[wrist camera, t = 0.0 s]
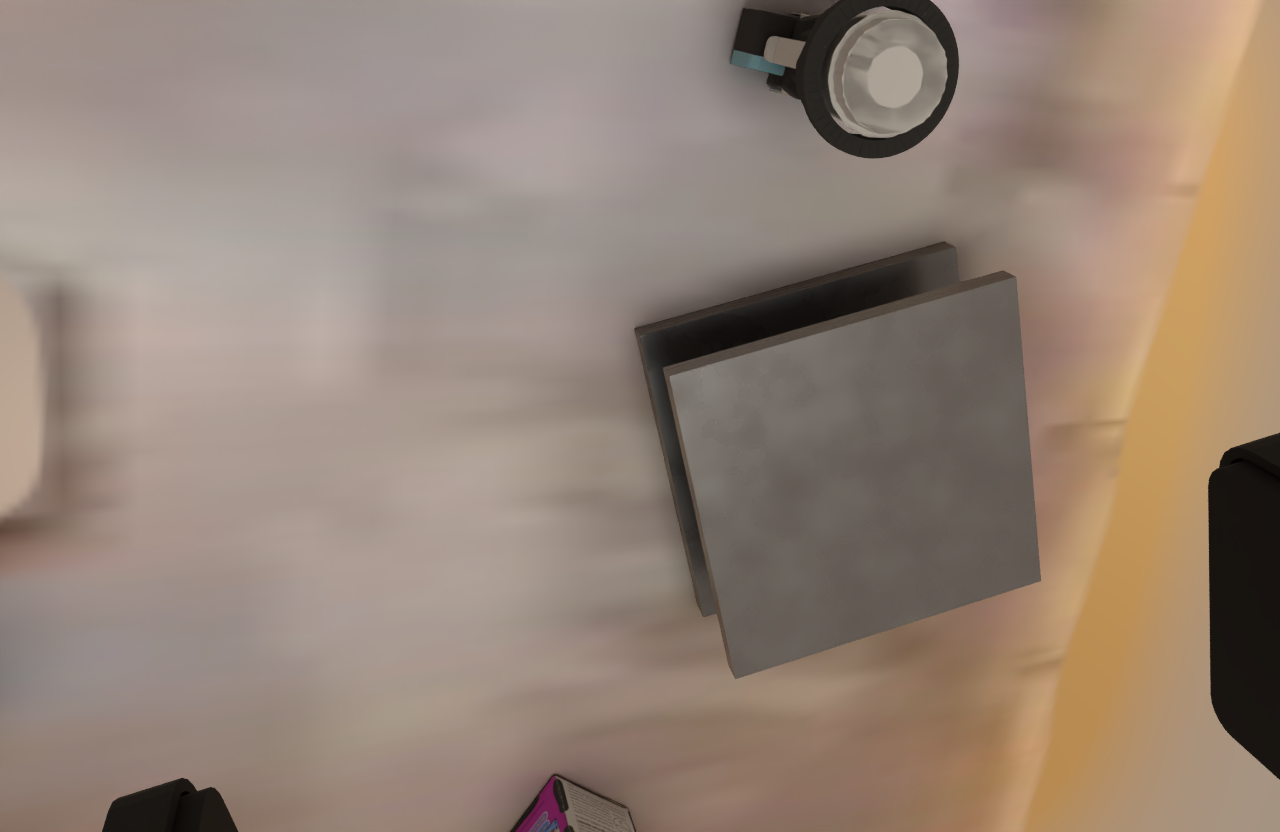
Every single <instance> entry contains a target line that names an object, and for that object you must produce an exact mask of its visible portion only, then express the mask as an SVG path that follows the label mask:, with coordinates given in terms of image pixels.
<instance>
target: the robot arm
mask: <svg viewBox="0 0 1280 832" xmlns="http://www.w3.org/2000/svg"><path fill="white" fill-rule="evenodd" d="M1208 503H1209V504H1208V505H1209V507H1208V508H1209V584H1210V585H1209V587H1210V589H1209V592H1210V676H1211V699H1212V705H1213V708H1214V711H1215V713H1216V715H1217V717H1218V719H1219V721H1220V723H1221V724H1222V725H1223V727H1224V729H1225V730H1226V731H1227V732H1228V733H1229V734H1230V735H1231V736H1232V737H1233V738H1234V739H1235V740H1236V741H1237V742H1238V743H1239V744H1241V745H1242V746H1243V747H1244V748H1245V749H1246V750H1247V751H1248V752H1250V753H1251V754H1252V755H1253V756H1254V757H1255V758H1256V759H1258V761H1260V762H1261V763H1262V764H1263V765H1264V766H1265V767H1266V768H1267V769H1268V770H1269V771H1271V772H1272V773H1273V774H1274V775H1275V776H1276V777H1277V778H1279V779H1280V433H1278V434H1274V435H1271V436H1268V437H1265V438H1262V439H1258V440H1255V441H1252V442H1249V443H1246V444H1243V445H1240V446H1236V447H1233V448H1231V449H1229V450H1228V451H1226V452H1225V453H1224V455H1223V457H1222V459H1221V461H1220V466H1219V468H1218V469H1216V470H1215V471H1213V472H1212V474H1211V476H1210V478H1209V485H1208ZM102 832H238V830H237V828H236V826H235V824H234V822H233V820H232V817H231V815H230V813H229V811H228V809H227V807H226V805H225V803H224V800H223V799H222V797H221V795H220V793H219V792H218V791H217V790H216V789H215V788H212V787H209V788H206V789H203V790H200V791H197V790H196V789H195V787H194V785H193V784H192V783H191V782H190V781H189V780H188V779H184V778H180V779H177V780H174V781H171V782H168V783H164V784H161V785H158V786H155V787H152V788H149V789H145V790H142V791H139V792H136V793H133V794H129V795H126V796H123V797H120V798H118V799H116V800H115V801H113V802H112V804H111V806H110V808H109V811H108V814H107V817H106V820H105V824H104V827H103V830H102Z"/></svg>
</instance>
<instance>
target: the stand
mask: <svg viewBox="0 0 1280 832" xmlns="http://www.w3.org/2000/svg"><path fill="white" fill-rule="evenodd" d="M635 333H636V337H637V341H638V346H639V350H640V355H641V359H642V363H643V368H644V372H645V377H646V381H647V385H648V390H649V394H650V398H651V403H652V407H653V412H654V416H655V420H656V425H657V429H658V433H659V438H660V442H661V447H662V451H663V455H664V460H665V464H666V469H667V473H668V477H669V482H670V486H671V490H672V495H673V499H674V504H675V508H676V512H677V517H678V521H679V526H680V530H681V534H682V539H683V543H684V547H685V552H686V556H687V561H688V565H689V569H690V574H691V578H692V582H693V587H694V591H695V596H696V600H697V604H698V607H699V609H700V611H701V613H702V615H703V617H706V616H709V615H712V614H715V613H717V615H718V620H719V624H720V629H721V633H722V638H723V642H724V647H725V651H726V656H727V661H728V665H729V667H730V669H731V671H732V673H733V675H734V677H735V679H737V678H741V677H744V676H747V675H750V674H753V673H756V672H759V671H762V670H765V669H768V668H772V667H775V666H778V665H781V664H784V663H787V662H790V661H793V660H796V659H800V658H803V657H806V656H809V655H812V654H815V653H818V652H821V651H824V650H828V649H831V648H834V647H837V646H840V645H843V644H846V643H849V642H852V641H856V640H859V639H862V638H865V637H868V636H871V635H874V634H877V633H880V632H884V631H887V630H890V629H893V628H896V627H899V626H902V625H905V624H908V623H912V622H915V621H918V620H921V619H924V618H927V617H930V616H933V615H936V614H939V613H943V612H946V611H949V610H952V609H955V608H958V607H961V606H964V605H967V604H971V603H974V602H977V601H980V600H983V599H986V598H989V597H992V596H995V595H999V594H1002V593H1005V592H1008V591H1011V590H1014V589H1017V588H1020V587H1023V586H1027V585H1030V584H1033V583H1036V582H1039V581H1041V575H1040V563H1039V550H1038V538H1037V526H1036V514H1035V501H1034V489H1033V477H1032V465H1031V452H1030V440H1029V428H1028V416H1027V403H1026V391H1025V379H1024V367H1023V354H1022V342H1021V330H1020V318H1019V305H1018V293H1017V281H1016V276H1014V275H1011V274H1009V273H1007V272H1005V271H999V272H996V273H992V274H989V275H985V276H982V277H978V278H975V279H971V280H968V281H964V282H961V283H959V276H958V266H957V257H956V247H954V246H952V245H950V244H948V243H946V242H942V243H939V244H935V245H932V246H928V247H925V248H921V249H917V250H914V251H910V252H907V253H903V254H900V255H896V256H892V257H889V258H885V259H882V260H878V261H875V262H871V263H868V264H864V265H860V266H857V267H853V268H850V269H846V270H843V271H839V272H835V273H832V274H828V275H825V276H821V277H818V278H814V279H811V280H807V281H803V282H800V283H796V284H793V285H789V286H786V287H782V288H778V289H775V290H771V291H768V292H764V293H761V294H757V295H753V296H750V297H746V298H743V299H739V300H736V301H732V302H729V303H725V304H721V305H718V306H714V307H711V308H707V309H704V310H700V311H696V312H693V313H689V314H686V315H682V316H679V317H675V318H672V319H668V320H664V321H661V322H657V323H654V324H650V325H647V326H643V327H639V328H636V329H635Z"/></svg>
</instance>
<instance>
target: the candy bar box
mask: <svg viewBox="0 0 1280 832" xmlns="http://www.w3.org/2000/svg"><path fill="white" fill-rule="evenodd" d="M512 832H636V830H635V827H634V824H633V821H632V818H631V815H630V812H629V810H628V809H627V808H625V807H624V806H622V805H620V804H618V803H616V802H614V801H612V800H610V799H607V798H604V797H601V796H599V795H596V794H594V793H592V792H589V791H587V790H585V789H584V788H582V787H580V786H577V785H575V784H573V783H571V782H569V781H567V780H564V779H562V778H560V777H558V776H554V777H552V778H551V780H550V781H549V782H548V783H547V785H546V786H545V787H544V789H543V790H542V791H541V793H540V794H539V795H538V797H537V798H536V799H535V801H534V802H533V804H532V805H531V806H530V808H529V809H528V810H527V812H526V813H525V814H524V816H523V817H522V819H521V820H520V821H519V823H518V824H517V825H516V827H515V828H514V829H513V831H512Z"/></svg>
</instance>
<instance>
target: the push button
mask: <svg viewBox="0 0 1280 832" xmlns="http://www.w3.org/2000/svg"><path fill="white" fill-rule="evenodd" d="M881 6H884V7H886V8H889V9H891V10H890V11H884V12H878V13H873V14H871V15H862V16H856V15H858V14H860V13H862V12H864V11H866V10H869V9H872V8H875V7H881ZM790 14H792V15H796V16H800V19H794V18H790V17H786V16H782V15H778V14H774V13H770V12H766V11H761V10H754V9H746V8H744V9H743V13H742V17H741V21H740V26H739V30H738V34H737V38H736V42H735V46H734V51H733V55H732V60H731V64H733V65H737V66H741V67H746V68H751V69H755V70H759V71H763V72H768V73H769V76H768V80H767V84H768V85H772V86H776V87H780V88H782V90H776V89H772V88H771V89H770V90H771V91H774V92H777V93H780V94H784V95H789V96H792V97H794V98H796V99H799V100H801V102H802V103H803V105H804V108H805V111H806V113H807V115H808V118H809V120H810V122H811V123H812V125H813V126H814V128H815V129H816V131H817V132H818V133H819V134H820V135H821V136H822V137H823V138H824V139H825V140H826V141H827V142H828V143H830V144H831V145H832V146H834V147H836V148H837V149H839V150H841V151H843V152H846V153H848V154H851V155H854V156H857V157H863V158H884V157H890V156H893V155H897V154H899V153H902V152H904V151H906V150H908V149H910V148H912V147H913V146H915V145H917V144H918V143H919V142H921V141H922V140H923V139H924V138H926V137H927V136H928V135H929V134H930V133H931V132H932V131H933V130H934V128H935V127H936V126H937V125H938V124H939V122H940V121H941V119H942V118H943V116H944V115H945V113H946V111H947V109H948V107H949V105H950V103H951V101H952V98H953V95H954V92H955V88H956V85H957V79H958V70H959V56H958V48H957V43H956V39H955V36H954V33H953V30H952V28H951V26H950V24H949V22H948V21H947V19H946V17H945V16H944V14H943V13H942V12H941V10H940V9H939V8H938V7H937V6H936V5H935V4H934V3H933V2H931V1H930V0H840V1H838V2H837V3H836V4H834V5H833V6H832V7H830V8H829V9H828V10H826V11H825V12H824V13H823V14H821V15H820V16H810V15H806V14H802V13H796V12H790ZM830 114H831V115H833V116H834V117H836V118H838V119H839V120H841V121H843V123H844V124H845V125H846V126H848V127H849V128H851V129H852V130H854V131H856V132H858V133H860V134H850V133H848V132H846V131H845V130H844V129H842V128H841V127H840V126H839V125H838V124H837V123H836V122H835V120H834V119H833V118H832V116H831V115H830Z"/></svg>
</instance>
